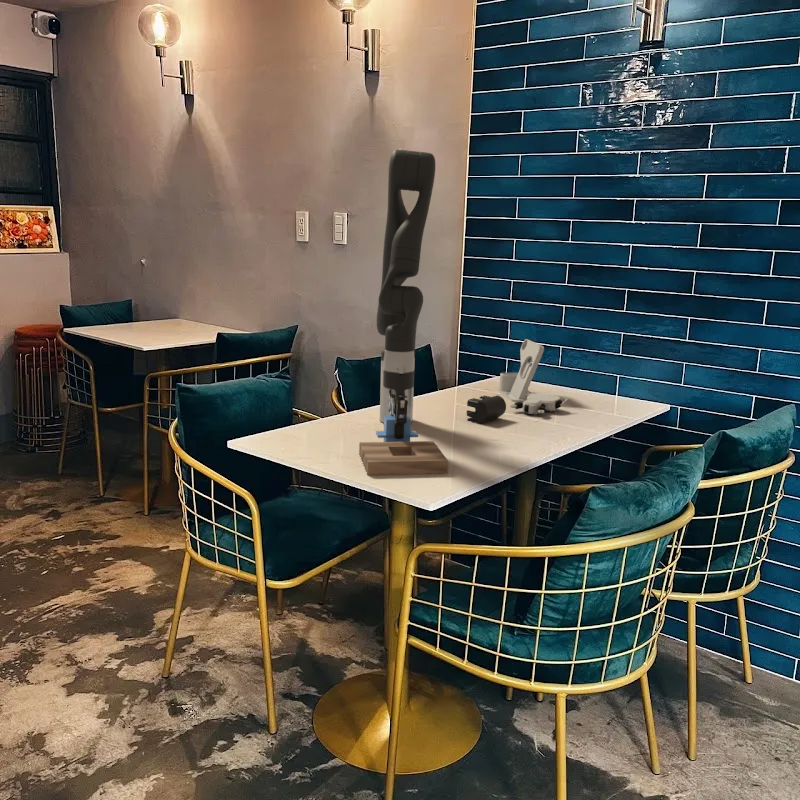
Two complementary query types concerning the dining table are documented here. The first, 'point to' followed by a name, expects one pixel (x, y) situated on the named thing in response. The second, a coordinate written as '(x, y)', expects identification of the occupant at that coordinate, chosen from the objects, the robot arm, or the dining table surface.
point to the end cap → (486, 408)
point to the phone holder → (521, 373)
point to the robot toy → (539, 403)
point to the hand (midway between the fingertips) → (396, 435)
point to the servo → (390, 428)
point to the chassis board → (402, 458)
